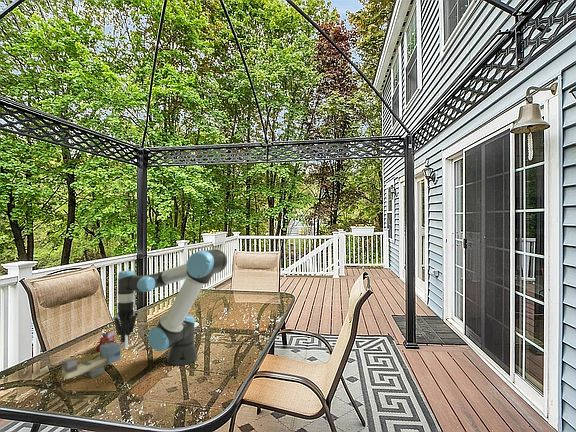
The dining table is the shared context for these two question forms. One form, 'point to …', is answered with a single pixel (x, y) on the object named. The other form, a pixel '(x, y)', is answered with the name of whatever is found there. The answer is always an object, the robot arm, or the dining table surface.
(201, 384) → the dining table surface
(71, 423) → the dining table surface
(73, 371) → the beam
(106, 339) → the toy fire truck
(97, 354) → the rock
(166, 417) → the dining table surface
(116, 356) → the grey block
